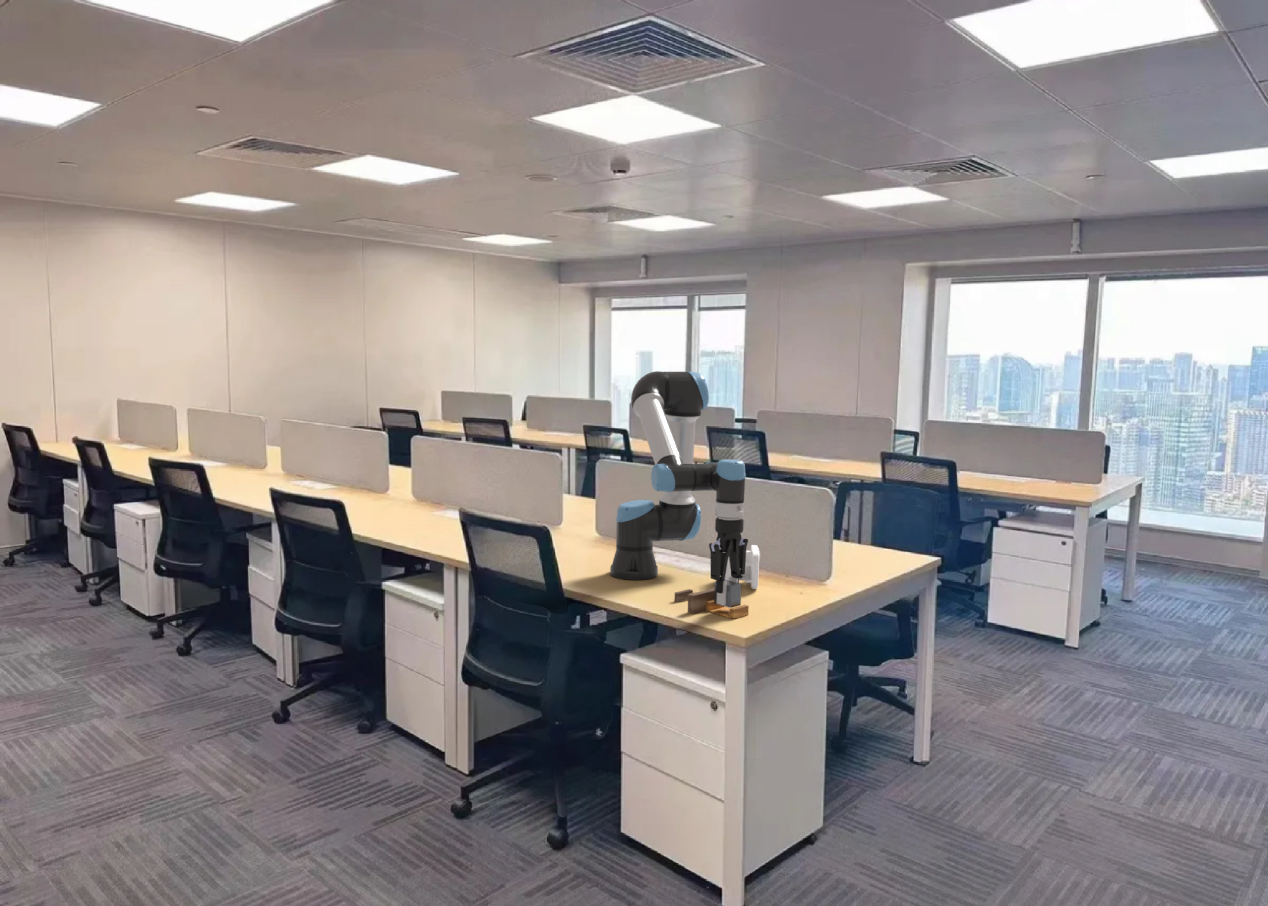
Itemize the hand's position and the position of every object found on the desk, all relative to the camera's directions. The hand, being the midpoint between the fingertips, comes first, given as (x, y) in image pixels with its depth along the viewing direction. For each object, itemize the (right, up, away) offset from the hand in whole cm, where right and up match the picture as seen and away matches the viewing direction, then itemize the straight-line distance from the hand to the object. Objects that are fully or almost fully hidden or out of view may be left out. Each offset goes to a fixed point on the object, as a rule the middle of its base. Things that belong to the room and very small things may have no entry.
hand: (727, 602), depth 231 cm
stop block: (0, 0, 0) cm, 0 cm away
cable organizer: (+8, 0, +30) cm, 31 cm away
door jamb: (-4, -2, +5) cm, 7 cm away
